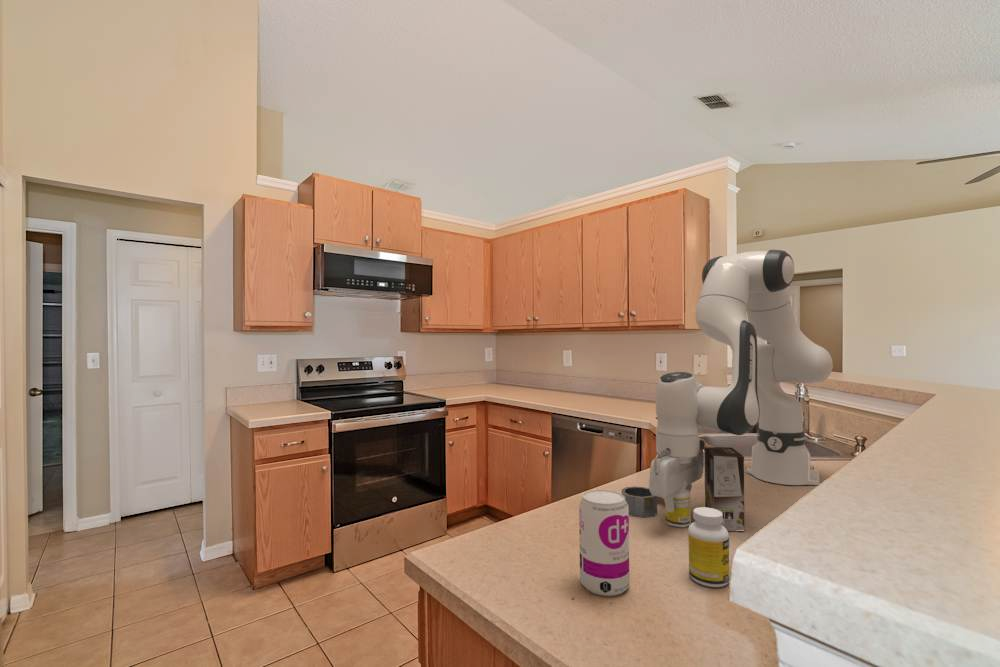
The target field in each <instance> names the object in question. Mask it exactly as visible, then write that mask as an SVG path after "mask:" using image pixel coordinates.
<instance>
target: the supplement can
mask: <svg viewBox="0 0 1000 667" xmlns="http://www.w3.org/2000/svg"><path fill="white" fill-rule="evenodd" d="M578 509H579V510H578V512H579V513H578V520H579V522H578V523H579V526H578V527H579V530H578V531H579V532H578V533H579V579H580V580H579V581H580V582H581V585H583V586H584V588H585V589H586V590H587V591H588V592H590V593H593V594H594V595H598V596H602V597H615V596H619V595H621V594H623V593H625V591H626V590H628V589H629V587H631V586H630V525H629V524H630V522H629V520H630V517H629V516H630V515H629V508H628V504H627V502H626V501H625V498H624V496H623V495H622V493H620V492H617V491H614V490H609V489H608V490H607V489H595V490H592V489H591V490H589V491H585V492H584V493H583V494H582V497H581V500H580V501H579V504H578Z"/></svg>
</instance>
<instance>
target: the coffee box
mask: <svg viewBox="0 0 1000 667" xmlns="http://www.w3.org/2000/svg"><path fill="white" fill-rule="evenodd" d="M703 452H704V498H705V499H704V501H705V503H704V504H705V506H704V507H707V508H713V509H716V510H719V511H721V512H722V514H723V522H722V523H721V525H722V526H723V527H725V528H726V530H727V531H728V532H737V531H736V530H744V531H745V456H744V455H742V454H741V453H740V452H738V451H737V450H736V449H734V448H733V447H724V446H720V447H719V446H714V447H710V446H709V447H707V446H706V447H705V449H704V450H703Z"/></svg>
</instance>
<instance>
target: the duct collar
mask: <svg viewBox="0 0 1000 667" xmlns="http://www.w3.org/2000/svg"><path fill="white" fill-rule="evenodd" d="M621 494H622V495H623V496H624V498H625V501H626V502H627V504H628V508H629V516H631V517H636V518H651V517H654V516H656V515H657V514H658V496H654V495H652V494H651V493H650V490H649V487H644V486H626V487H624V488H622V489H621Z"/></svg>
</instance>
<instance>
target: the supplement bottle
mask: <svg viewBox="0 0 1000 667" xmlns="http://www.w3.org/2000/svg"><path fill="white" fill-rule="evenodd" d="M686 487H687V483H686V481H685V482H684V487H683V488H682V489H680V490H679V491H677V492H675V493H674V497H673V499H674V503H676V510H675V511H674V512H668V511H666V509H665V508H664V512H665V514H664V516H665V518H664V519H665V523H666V524H667V525H669V526H672V527H676V528H687V527H689V526H690V525H691V524H692V516H691V515H692V512H691V511H692V509H691V507H692V506H691V491H690V492H689V490H688V489H686Z"/></svg>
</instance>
